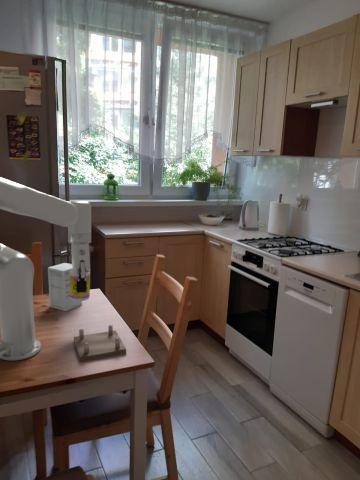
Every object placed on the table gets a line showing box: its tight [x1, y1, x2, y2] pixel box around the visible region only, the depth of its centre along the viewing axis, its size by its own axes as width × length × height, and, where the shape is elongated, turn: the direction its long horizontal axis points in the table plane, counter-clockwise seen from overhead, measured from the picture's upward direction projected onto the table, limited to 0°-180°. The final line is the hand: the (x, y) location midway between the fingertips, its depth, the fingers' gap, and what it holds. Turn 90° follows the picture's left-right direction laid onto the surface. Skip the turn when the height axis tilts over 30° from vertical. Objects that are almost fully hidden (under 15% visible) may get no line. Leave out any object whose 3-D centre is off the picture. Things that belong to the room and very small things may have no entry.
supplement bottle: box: [70, 268, 91, 302], centre depth 126 cm, size 7×7×13 cm
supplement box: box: [47, 262, 83, 312], centre depth 150 cm, size 10×9×17 cm
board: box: [73, 324, 127, 363], centre depth 118 cm, size 14×14×4 cm
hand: (79, 288), depth 127 cm, fingers closed on supplement bottle, 6 cm apart
